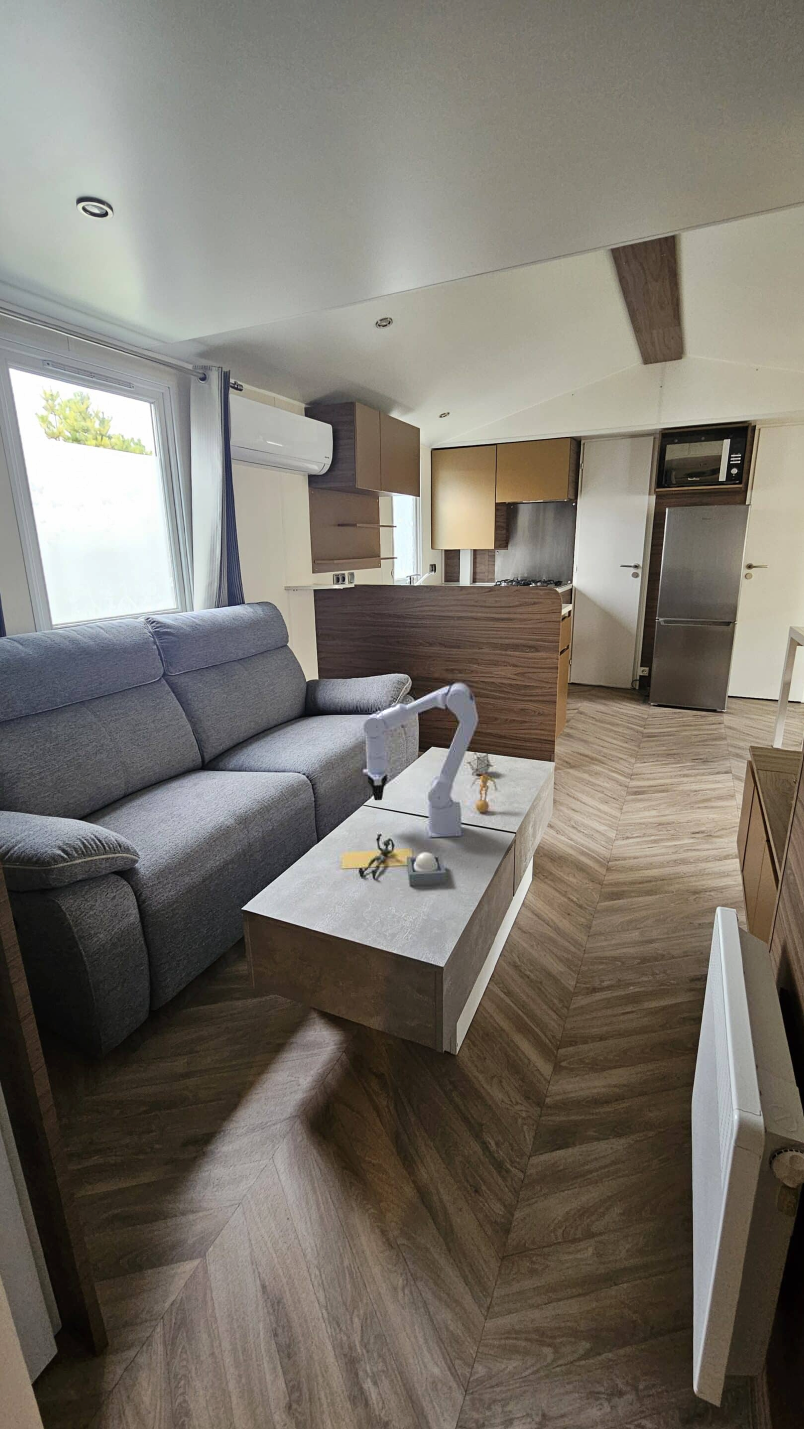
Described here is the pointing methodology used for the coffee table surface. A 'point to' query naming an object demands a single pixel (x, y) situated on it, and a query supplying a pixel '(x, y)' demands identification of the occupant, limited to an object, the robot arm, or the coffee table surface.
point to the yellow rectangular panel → (365, 857)
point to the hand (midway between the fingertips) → (378, 799)
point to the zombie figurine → (379, 858)
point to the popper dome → (425, 863)
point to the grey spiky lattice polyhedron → (480, 764)
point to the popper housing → (426, 873)
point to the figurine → (483, 804)
